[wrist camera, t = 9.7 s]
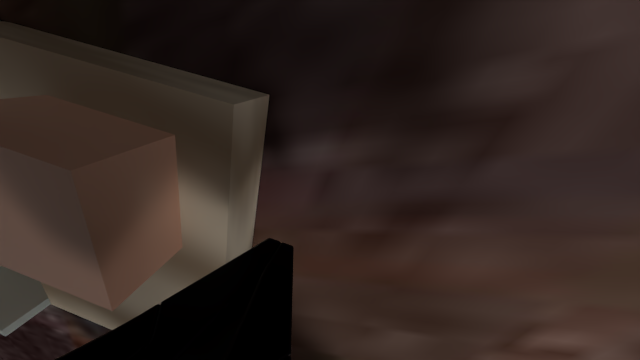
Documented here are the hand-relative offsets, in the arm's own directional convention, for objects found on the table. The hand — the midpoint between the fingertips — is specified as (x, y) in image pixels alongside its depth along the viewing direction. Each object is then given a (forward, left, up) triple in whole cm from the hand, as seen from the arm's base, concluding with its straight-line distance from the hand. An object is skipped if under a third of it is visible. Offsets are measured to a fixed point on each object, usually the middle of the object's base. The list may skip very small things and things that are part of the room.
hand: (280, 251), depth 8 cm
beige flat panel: (-4, +8, -3) cm, 10 cm away
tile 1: (0, +7, -1) cm, 7 cm away
